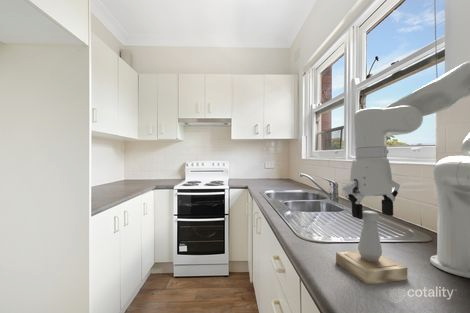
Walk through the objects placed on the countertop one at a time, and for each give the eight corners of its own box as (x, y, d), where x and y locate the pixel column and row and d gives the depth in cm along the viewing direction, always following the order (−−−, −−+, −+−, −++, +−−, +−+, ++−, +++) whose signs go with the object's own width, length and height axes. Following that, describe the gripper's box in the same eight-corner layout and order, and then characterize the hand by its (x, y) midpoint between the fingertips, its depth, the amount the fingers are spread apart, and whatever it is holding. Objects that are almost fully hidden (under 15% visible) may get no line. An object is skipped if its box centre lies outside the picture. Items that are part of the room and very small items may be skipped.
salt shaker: (385, 264, 61) (386, 214, 61) (361, 262, 62) (362, 213, 62) (376, 255, 67) (377, 209, 67) (355, 253, 68) (355, 208, 68)
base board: (370, 259, 71) (371, 248, 71) (407, 279, 60) (407, 267, 60) (336, 262, 69) (336, 251, 69) (366, 284, 57) (367, 271, 57)
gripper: (385, 153, 70) (387, 210, 70) (334, 155, 66) (336, 215, 66) (409, 152, 62) (411, 217, 62) (352, 155, 59) (354, 223, 59)
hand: (372, 216), depth 64 cm, fingers open, 9 cm apart
